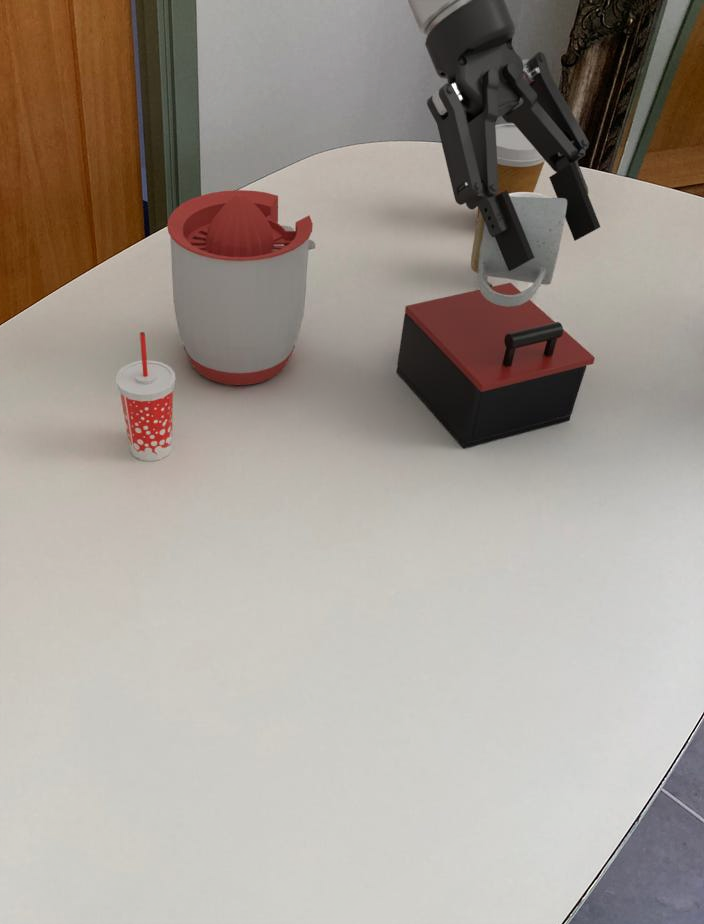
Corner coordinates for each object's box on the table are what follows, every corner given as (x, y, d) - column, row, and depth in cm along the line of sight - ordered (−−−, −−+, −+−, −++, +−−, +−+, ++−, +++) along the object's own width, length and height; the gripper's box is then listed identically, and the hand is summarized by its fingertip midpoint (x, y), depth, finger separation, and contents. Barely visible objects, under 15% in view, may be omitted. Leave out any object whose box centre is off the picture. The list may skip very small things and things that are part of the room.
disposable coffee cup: (539, 215, 142) (560, 128, 133) (524, 245, 137) (545, 156, 128) (474, 203, 145) (490, 117, 136) (457, 232, 139) (472, 144, 130)
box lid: (593, 364, 104) (605, 326, 101) (481, 392, 101) (489, 354, 98) (509, 288, 114) (517, 252, 111) (404, 312, 111) (410, 275, 108)
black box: (569, 420, 110) (588, 360, 105) (463, 449, 107) (476, 387, 101) (495, 348, 120) (509, 289, 114) (395, 372, 117) (404, 312, 111)
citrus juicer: (342, 364, 118) (358, 197, 103) (222, 414, 112) (221, 244, 96) (264, 307, 127) (269, 145, 111) (149, 351, 120) (137, 185, 105)
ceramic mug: (471, 251, 102) (486, 176, 96) (552, 261, 101) (572, 185, 95) (460, 304, 95) (476, 228, 89) (547, 316, 94) (568, 239, 88)
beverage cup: (190, 450, 107) (185, 335, 97) (144, 473, 105) (134, 358, 94) (156, 423, 111) (149, 310, 100) (111, 445, 108) (98, 330, 97)
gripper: (512, 15, 98) (597, 231, 102) (351, 65, 89) (450, 300, 93) (568, -35, 91) (657, 199, 95) (400, 14, 83) (505, 269, 86)
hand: (555, 248), depth 94 cm, fingers closed on ceramic mug, 9 cm apart
